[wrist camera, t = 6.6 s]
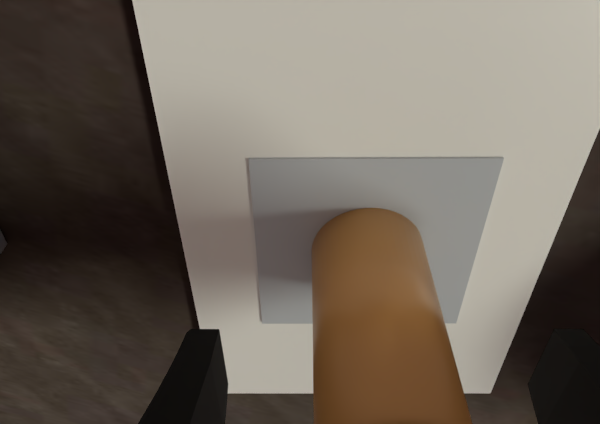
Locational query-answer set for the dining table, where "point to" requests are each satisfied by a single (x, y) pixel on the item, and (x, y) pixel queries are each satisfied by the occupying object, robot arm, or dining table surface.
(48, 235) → the dining table surface
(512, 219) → the paper
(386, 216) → the bottle
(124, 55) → the dining table surface
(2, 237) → the button housing
